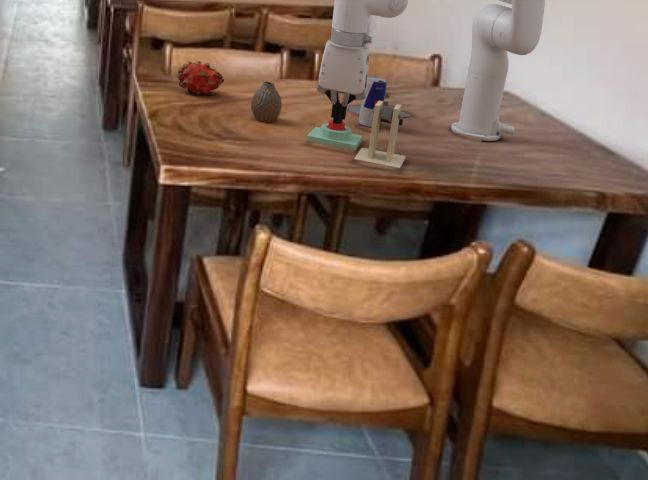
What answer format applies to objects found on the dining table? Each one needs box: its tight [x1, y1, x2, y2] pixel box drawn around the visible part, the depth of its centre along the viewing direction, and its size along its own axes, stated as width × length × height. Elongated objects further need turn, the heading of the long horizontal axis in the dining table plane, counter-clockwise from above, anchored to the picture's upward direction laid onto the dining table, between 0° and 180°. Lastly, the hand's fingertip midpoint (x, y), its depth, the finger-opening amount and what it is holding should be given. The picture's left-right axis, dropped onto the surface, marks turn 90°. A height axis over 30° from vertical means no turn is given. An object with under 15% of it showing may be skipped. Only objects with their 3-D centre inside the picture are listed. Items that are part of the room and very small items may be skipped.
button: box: [328, 119, 346, 131], centre depth 217 cm, size 4×4×2 cm
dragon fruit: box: [176, 60, 225, 96], centre depth 239 cm, size 8×8×12 cm
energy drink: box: [358, 75, 388, 129], centre depth 233 cm, size 5×5×12 cm
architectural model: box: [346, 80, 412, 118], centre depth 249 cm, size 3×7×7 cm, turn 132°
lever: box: [380, 105, 404, 127], centre depth 213 cm, size 12×5×2 cm, turn 169°
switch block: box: [306, 122, 363, 151], centre depth 218 cm, size 11×8×4 cm
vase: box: [250, 81, 283, 123], centre depth 227 cm, size 7×7×9 cm
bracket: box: [353, 101, 407, 169], centre depth 210 cm, size 9×10×13 cm
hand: (337, 121), depth 217 cm, fingers closed
